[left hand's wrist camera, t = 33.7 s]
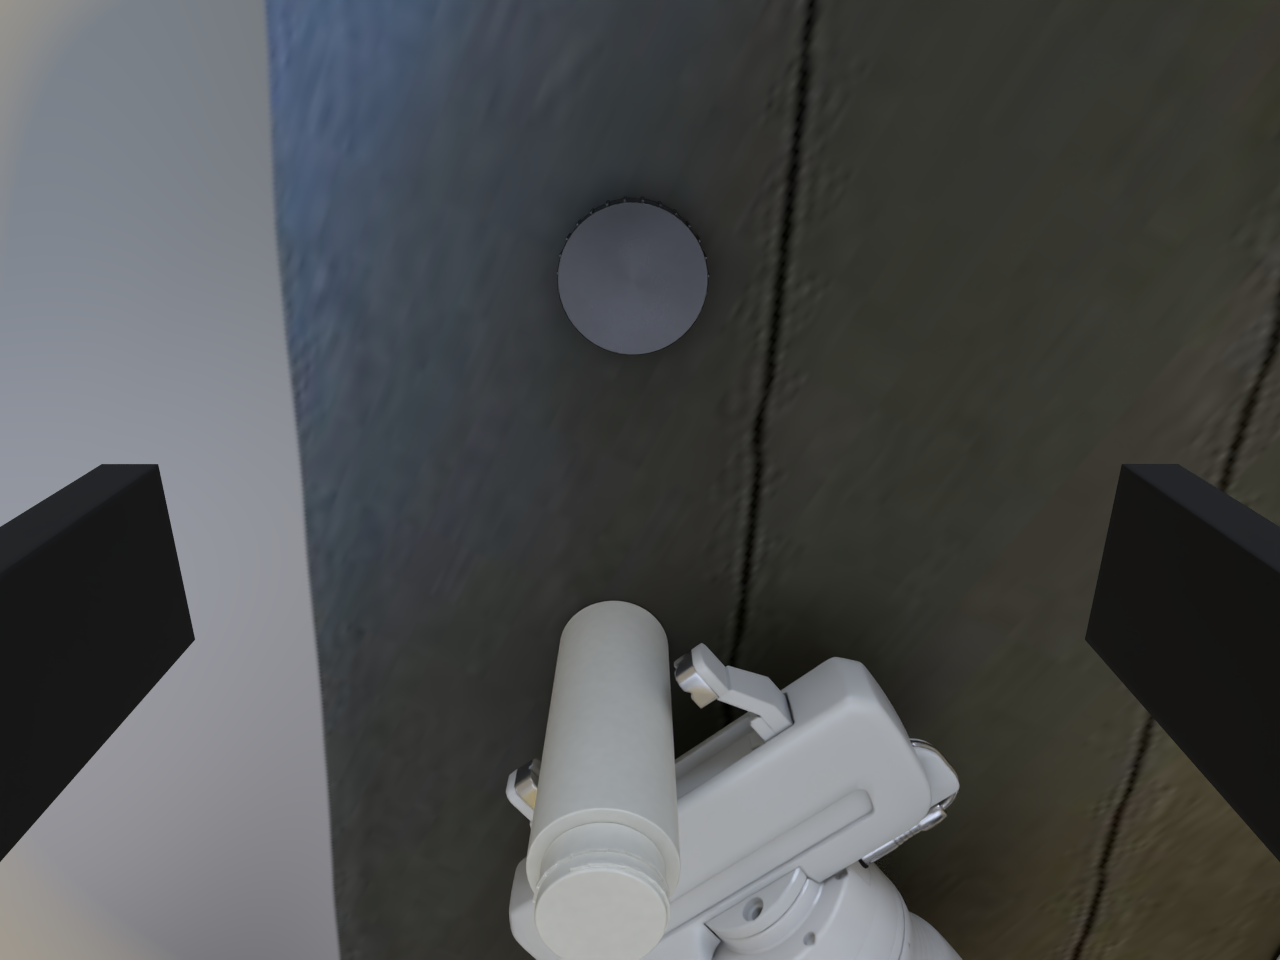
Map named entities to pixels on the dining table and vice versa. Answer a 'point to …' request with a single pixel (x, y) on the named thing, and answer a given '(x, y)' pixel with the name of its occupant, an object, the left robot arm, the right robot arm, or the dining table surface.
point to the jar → (606, 791)
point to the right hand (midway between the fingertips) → (600, 718)
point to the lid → (632, 276)
